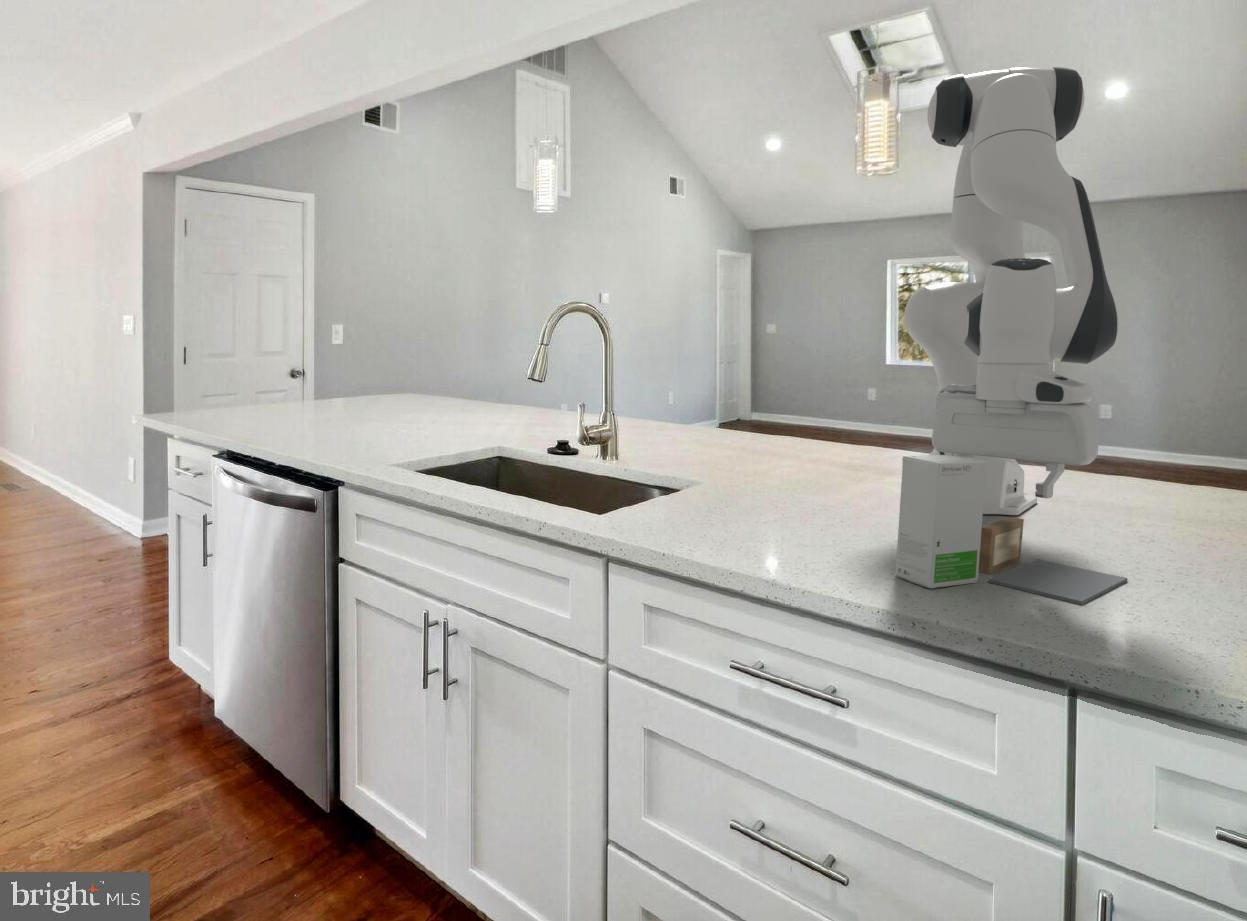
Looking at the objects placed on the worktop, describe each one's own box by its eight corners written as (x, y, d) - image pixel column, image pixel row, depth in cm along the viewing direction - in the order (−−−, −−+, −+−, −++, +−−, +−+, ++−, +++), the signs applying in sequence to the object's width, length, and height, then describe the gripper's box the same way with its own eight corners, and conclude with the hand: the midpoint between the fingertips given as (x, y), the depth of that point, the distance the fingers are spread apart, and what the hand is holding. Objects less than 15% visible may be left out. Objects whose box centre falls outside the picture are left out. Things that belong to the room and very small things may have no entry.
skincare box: (929, 590, 100) (937, 463, 97) (891, 575, 106) (898, 455, 103) (980, 582, 103) (990, 459, 100) (941, 568, 109) (949, 451, 106)
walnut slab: (1008, 559, 114) (1011, 517, 113) (1020, 562, 112) (1024, 519, 111) (976, 571, 108) (979, 527, 107) (988, 574, 106) (992, 529, 106)
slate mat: (1037, 562, 112) (1038, 559, 112) (1127, 581, 104) (1127, 578, 104) (988, 581, 103) (988, 578, 103) (1081, 604, 95) (1081, 601, 95)
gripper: (925, 384, 112) (920, 485, 114) (1087, 390, 96) (1078, 506, 98) (949, 383, 116) (944, 480, 118) (1108, 388, 100) (1099, 500, 102)
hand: (1006, 492), depth 108 cm, fingers open, 8 cm apart
